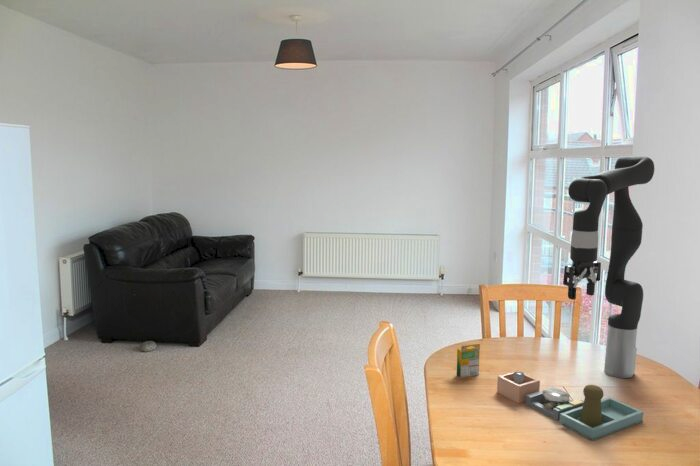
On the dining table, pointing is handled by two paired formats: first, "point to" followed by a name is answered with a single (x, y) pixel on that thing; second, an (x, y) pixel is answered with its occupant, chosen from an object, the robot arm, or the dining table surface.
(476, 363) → the crayon box
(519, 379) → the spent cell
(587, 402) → the olive gourd
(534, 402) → the checker cradle
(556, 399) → the silver domed disc
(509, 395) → the cup
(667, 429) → the dining table surface
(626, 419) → the teal divided tray
